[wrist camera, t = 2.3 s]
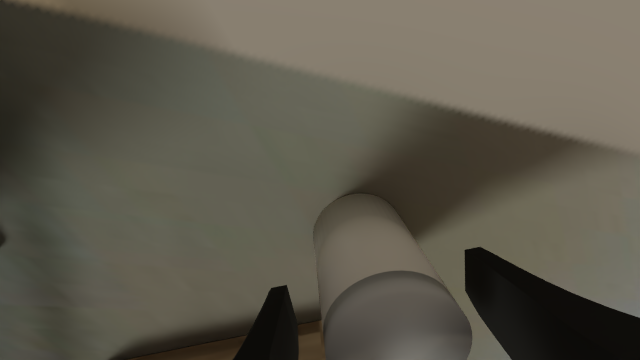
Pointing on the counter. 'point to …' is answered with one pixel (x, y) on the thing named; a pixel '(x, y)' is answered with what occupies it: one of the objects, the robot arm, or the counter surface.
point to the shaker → (381, 288)
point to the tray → (220, 354)
